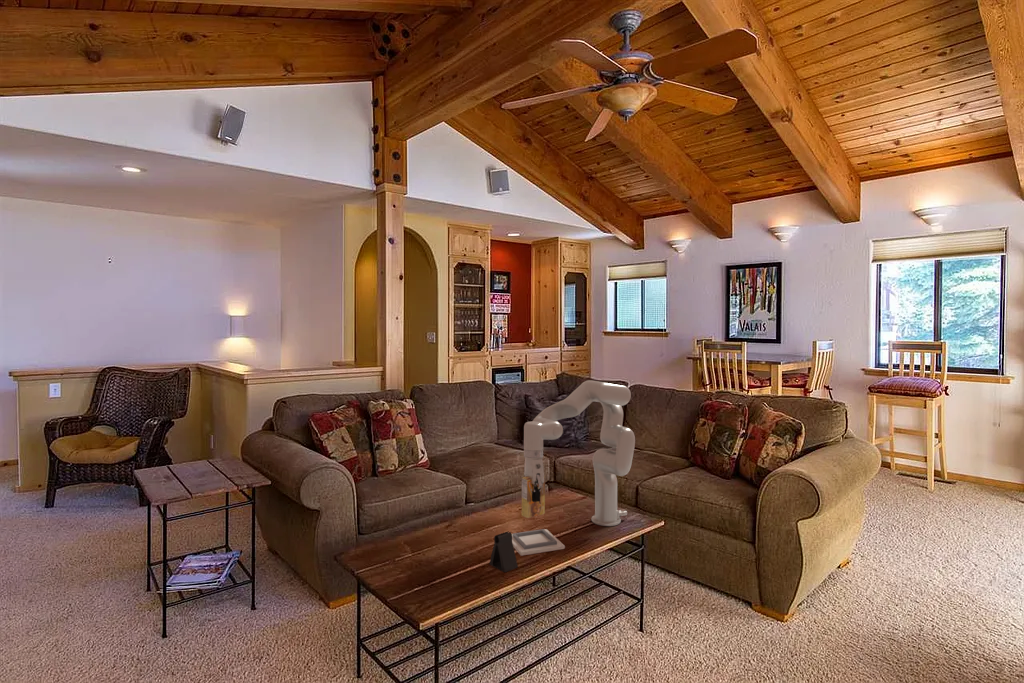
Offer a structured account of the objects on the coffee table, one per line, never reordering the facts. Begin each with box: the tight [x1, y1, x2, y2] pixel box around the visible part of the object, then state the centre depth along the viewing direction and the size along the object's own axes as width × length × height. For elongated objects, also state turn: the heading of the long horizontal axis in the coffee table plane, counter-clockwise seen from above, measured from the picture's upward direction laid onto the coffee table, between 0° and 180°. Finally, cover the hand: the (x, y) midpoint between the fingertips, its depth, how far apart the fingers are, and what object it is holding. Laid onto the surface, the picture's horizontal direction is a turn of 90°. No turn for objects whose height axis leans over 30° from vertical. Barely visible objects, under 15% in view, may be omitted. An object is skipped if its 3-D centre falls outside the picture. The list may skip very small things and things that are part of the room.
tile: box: [511, 528, 566, 557], centre depth 232 cm, size 18×18×2 cm
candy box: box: [521, 475, 546, 519], centre depth 231 cm, size 9×4×15 cm, turn 126°
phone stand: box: [488, 531, 519, 573], centre depth 212 cm, size 9×6×12 cm, turn 40°
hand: (533, 498), depth 231 cm, fingers closed on candy box, 5 cm apart
